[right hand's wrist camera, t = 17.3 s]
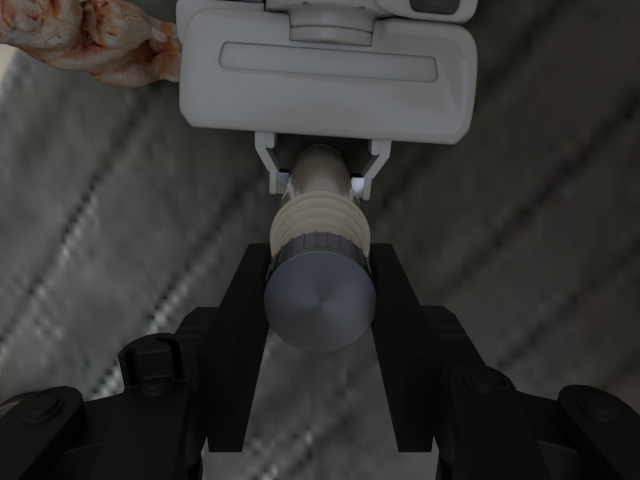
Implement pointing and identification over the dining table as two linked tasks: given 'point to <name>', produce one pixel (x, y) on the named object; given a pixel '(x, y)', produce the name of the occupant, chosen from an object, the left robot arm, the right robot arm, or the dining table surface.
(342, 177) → the bottle
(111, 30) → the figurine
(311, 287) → the cap
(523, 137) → the dining table surface
